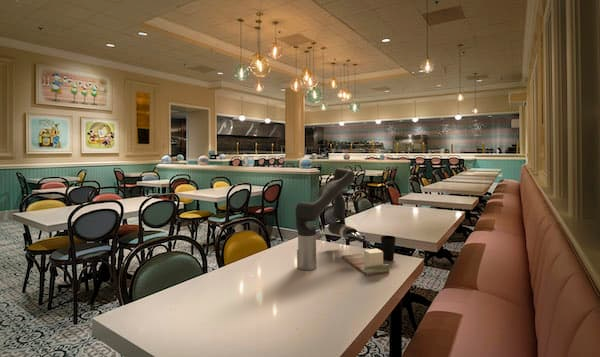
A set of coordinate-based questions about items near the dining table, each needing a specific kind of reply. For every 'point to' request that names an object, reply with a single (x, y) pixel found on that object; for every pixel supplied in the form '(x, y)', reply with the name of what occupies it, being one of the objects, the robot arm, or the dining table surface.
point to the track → (358, 263)
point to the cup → (388, 247)
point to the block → (373, 257)
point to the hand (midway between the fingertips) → (363, 240)
